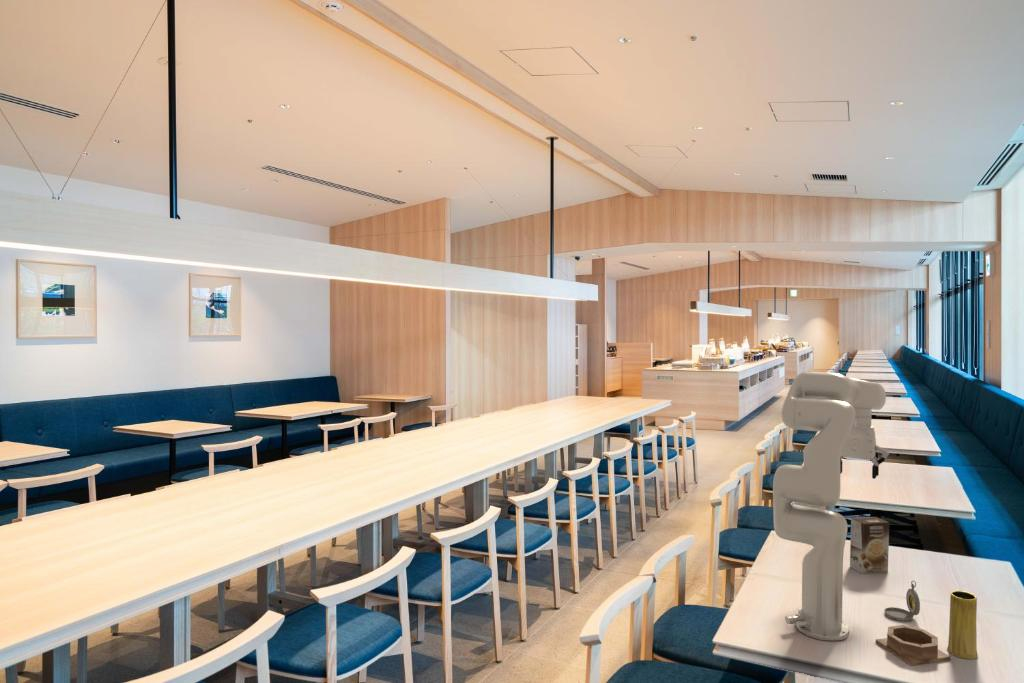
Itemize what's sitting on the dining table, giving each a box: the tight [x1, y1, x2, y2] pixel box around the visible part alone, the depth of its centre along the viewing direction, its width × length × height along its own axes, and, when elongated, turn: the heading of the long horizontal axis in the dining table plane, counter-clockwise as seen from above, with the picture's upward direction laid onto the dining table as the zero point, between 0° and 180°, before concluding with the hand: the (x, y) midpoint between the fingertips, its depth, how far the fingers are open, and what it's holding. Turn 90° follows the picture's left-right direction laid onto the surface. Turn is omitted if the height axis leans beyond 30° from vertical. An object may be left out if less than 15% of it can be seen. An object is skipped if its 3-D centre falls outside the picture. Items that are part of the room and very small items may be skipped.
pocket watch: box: [884, 580, 921, 621], centre depth 178 cm, size 8×8×10 cm
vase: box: [946, 590, 979, 660], centre depth 159 cm, size 6×6×14 cm
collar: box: [875, 624, 951, 667], centre depth 160 cm, size 11×11×4 cm
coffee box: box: [849, 516, 890, 574], centre depth 210 cm, size 9×6×16 cm
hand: (856, 475), depth 205 cm, fingers open, 9 cm apart
